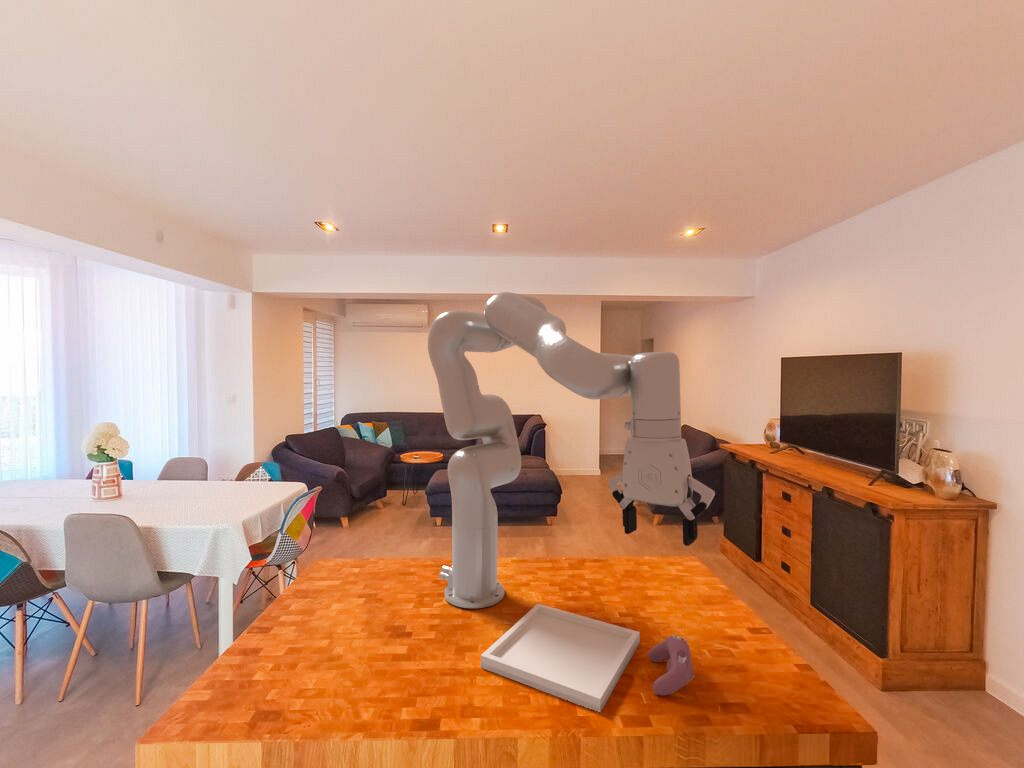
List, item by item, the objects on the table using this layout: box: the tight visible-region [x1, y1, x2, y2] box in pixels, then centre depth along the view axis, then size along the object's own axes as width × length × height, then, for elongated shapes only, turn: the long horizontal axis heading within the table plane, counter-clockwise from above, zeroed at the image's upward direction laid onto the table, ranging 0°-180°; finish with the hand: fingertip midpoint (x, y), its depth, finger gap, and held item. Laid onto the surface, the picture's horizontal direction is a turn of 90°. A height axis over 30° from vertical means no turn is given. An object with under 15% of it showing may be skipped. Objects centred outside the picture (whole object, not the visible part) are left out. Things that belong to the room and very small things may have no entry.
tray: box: [480, 603, 641, 713], centre depth 81 cm, size 20×20×2 cm
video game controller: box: [648, 633, 694, 696], centre depth 75 cm, size 10×5×7 cm, turn 169°
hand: (658, 537), depth 77 cm, fingers open, 9 cm apart
